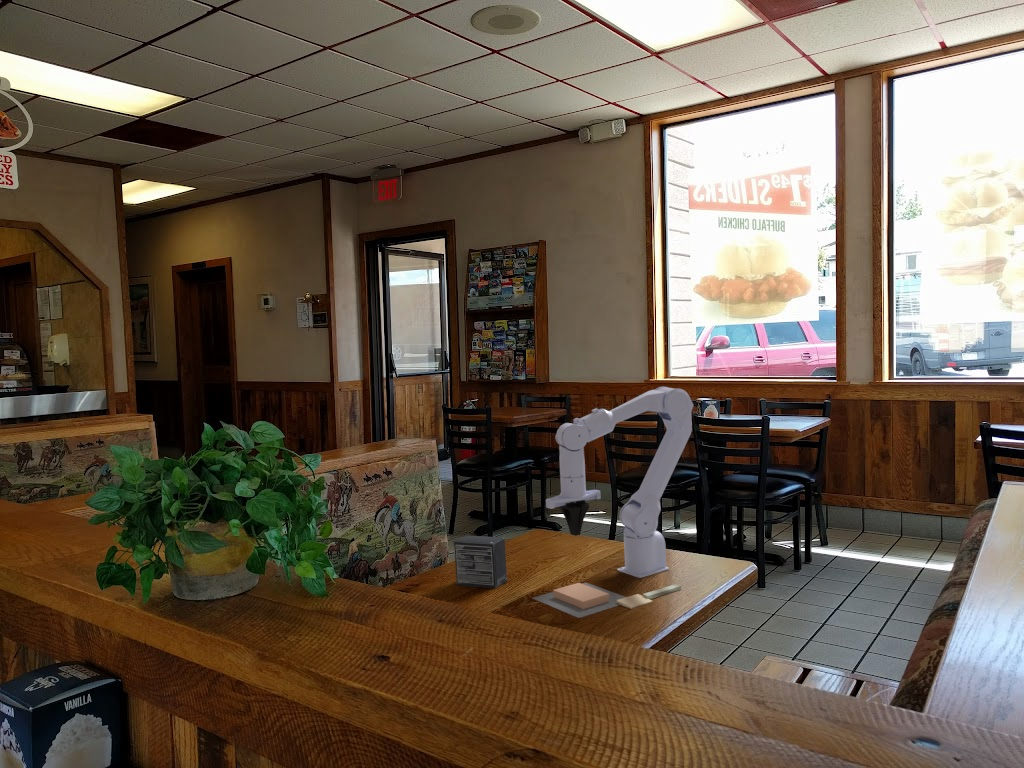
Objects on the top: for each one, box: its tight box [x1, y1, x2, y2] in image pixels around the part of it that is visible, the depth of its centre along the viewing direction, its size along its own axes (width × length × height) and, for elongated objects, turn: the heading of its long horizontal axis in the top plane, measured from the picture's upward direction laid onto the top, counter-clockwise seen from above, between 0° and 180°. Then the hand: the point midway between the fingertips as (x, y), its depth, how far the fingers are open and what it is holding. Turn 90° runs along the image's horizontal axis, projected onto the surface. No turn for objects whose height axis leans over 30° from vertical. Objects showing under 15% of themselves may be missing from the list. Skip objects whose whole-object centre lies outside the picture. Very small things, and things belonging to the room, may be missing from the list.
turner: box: [617, 583, 682, 610], centre depth 165 cm, size 16×4×1 cm, turn 124°
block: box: [552, 582, 609, 609], centre depth 165 cm, size 2×10×7 cm
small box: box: [453, 535, 508, 589], centre depth 181 cm, size 11×6×10 cm, turn 65°
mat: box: [532, 582, 627, 619], centre depth 166 cm, size 15×16×1 cm
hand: (575, 534), depth 180 cm, fingers closed
